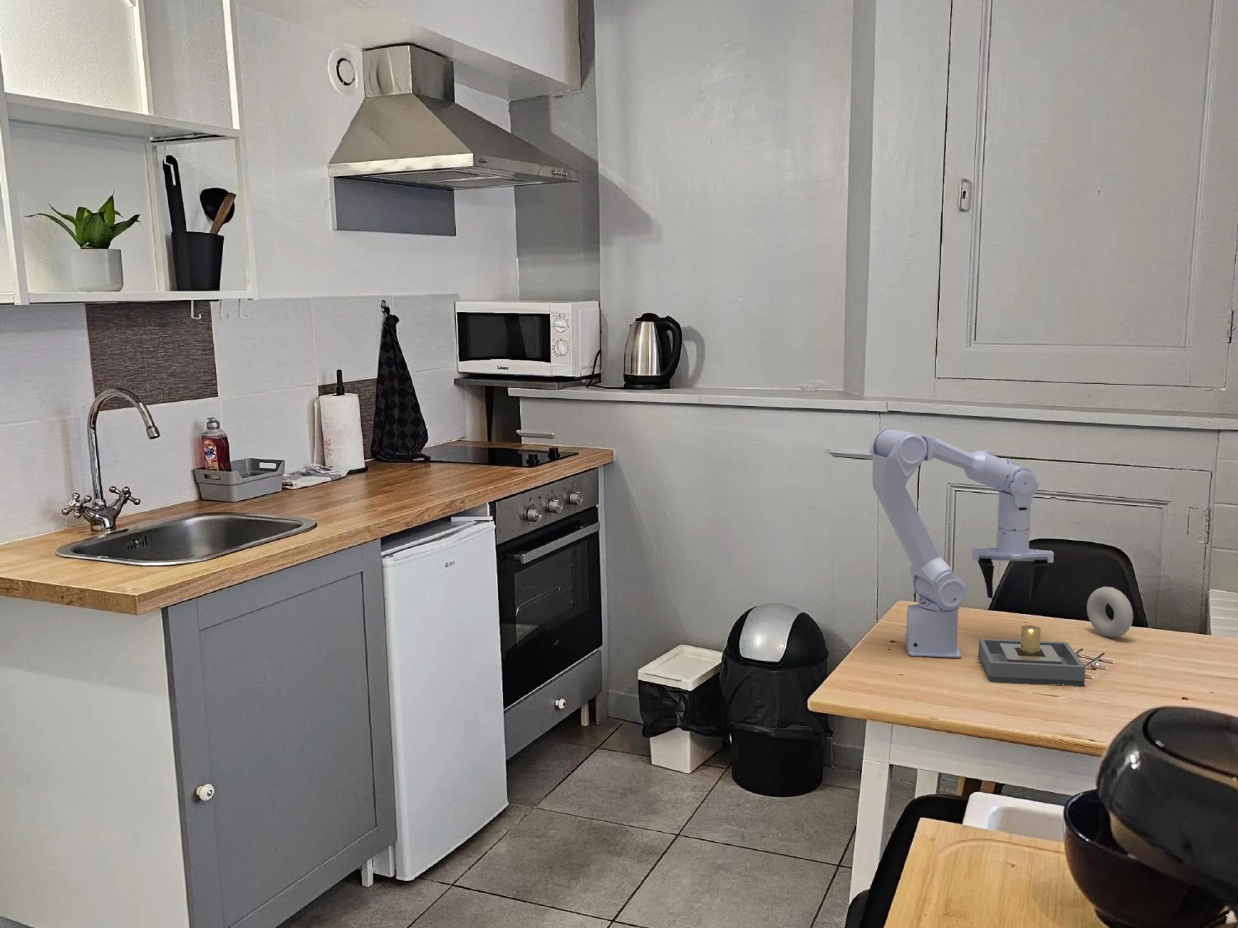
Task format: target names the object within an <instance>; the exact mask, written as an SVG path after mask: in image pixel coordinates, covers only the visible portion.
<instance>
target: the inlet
mask: <svg viewBox="0 0 1238 928" xmlns="http://www.w3.org/2000/svg"><path fill="white" fill-rule="evenodd" d="M1020 648H1021V644H1005V643H999V658H1000V660H1001V662H1019V663H1041V664H1062V661H1061V659H1060V658H1059V656H1058V655H1057V653H1056V652H1055V650H1054V649H1053V647H1052V646H1051V645H1040V652H1039V657H1035V656H1020Z"/></svg>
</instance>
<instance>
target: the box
mask: <svg viewBox="0 0 1238 928" xmlns="http://www.w3.org/2000/svg"><path fill="white" fill-rule="evenodd" d="M999 643H1005V644H1021V639H1019V640H1018V639H998V638H997V639H996V638H995V639H994V638H978V650H977V651H978V652H977V653H978V654H977V657H978V660H979V659H980V660H979V662H980V664H981V663H982V664H981V666H982V669H983V670H984V673H985V675H986V678H987V679H988V681H989V683H1001V684H1002V683H1003V684H1004V683H1005V684H1022V683H1025V684H1026V683H1029V684H1028V685H1042V684H1056V685H1055V686H1063V684H1064V685H1073V686H1072V687H1083V686H1084V687H1085V685H1086V684H1085V681H1086V680H1085V679H1086V666H1085V664H1084V662H1082V660H1081V658H1080V657H1079V656H1078V655H1077V654H1076V652H1075V651H1074V649H1073V648H1072V647H1071V646H1070V644H1069V642H1066V641H1045V640H1044V641H1043V640H1040V645H1051V646H1052V647H1053V649H1054V650H1055V652H1056V653H1057V655H1058V656H1059V658H1060V659H1061V661H1062V664H1041V663H1019V662H1001V660H1000V658H999ZM1057 684H1059V685H1057ZM1060 684H1061V685H1060ZM1026 685H1027V684H1026Z"/></svg>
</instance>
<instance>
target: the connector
mask: <svg viewBox="0 0 1238 928" xmlns="http://www.w3.org/2000/svg"><path fill="white" fill-rule="evenodd" d="M1020 640H1021V648H1020V656H1035V657H1039V652H1040V641H1041V627H1039V626H1037V625H1031V624H1030V625H1028V624H1025V625H1022V626H1021V629H1020Z"/></svg>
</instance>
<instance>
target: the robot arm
mask: <svg viewBox="0 0 1238 928" xmlns="http://www.w3.org/2000/svg"><path fill="white" fill-rule="evenodd" d="M869 453H870V455H871V458H872V488H873V490H874V491H875V492H874V493H875V495H876V496H877V498H878V501H880V504H881V505H882V508H883V509H884V512H885V514H886V515H887V517H888V520H889V521H890V523H891V525H892V528H893V529H894V531H895V533H896V535H897V537H898V540H899V541H900V543H901V545H902V548H903V549H904V552H905V553H906V555H907V557H908V559H909V561H910V563H911V566H910V568H909V572H910V574H911V576H912V587H913V590H914V593H916V595H918V603H916V604H908V605H907V607H906V628H905V629H906V631H905V633H904V634H905V636H904V638H905V640H904V641H905V645H906V649H907V654H908V655H909V656H913V657H914V656H915V657H917V656H918V657H933V658H934V657H938V658H954V659H955V658H956V659H957V658H958V659H960V658H962V653H961V651H960V648H959V647H958V629H959V627H958V625H959V610H960V606H961V605H962V604H963V603H964V602H965V600H966V596H967V587H966V584H965V583H964V581H963V580H962V579H961V578H960V577H958V576H957V575H955V573H954V571H953V569H952V568H951V567H950V566H949V565H948V564H947V562H946V561H945V560H944V559H943V558H942V557H941V556H940V554H939V551H938V550H937V548H936V546H935V543H934V542H933V540H932V537H931V535H930V534H929V532H928V530H927V527H926V526H925V524H924V521H923V519H922V518H921V516H920V513H919V512H918V510H917V508H916V506H915V504H914V502H913V500H912V498H911V496H910V494H909V491H908V490H907V486H906V485H907V483H908V480H910V478H911V477H912V475H913V474H914V473H915V472H916V470H917V469H918V468H919V467H920V465H921V464H922V463H923V461H925V462H929V461H931V460H933V459H935V460H938V461H942V462H944V463H947V464H949V465H952V466H954V467H958V468H961V469H963V471H964V473H965V476H966V478H967V479H969V480H970V481H971V480H972V481H974V482H977V483H979V484H982V485H983V486H986V487H989V488H991V489H994V490H995V491H996V492H997V493H998V511H997V515H998V516H997V533H996V534H997V535H996V537H997V539H996V547H986V548H982V547H981V548H972V549H971V551H972V553H971V559H972V561H977V564H978V565H979V567H980V571H981V573H982V575H983V578H984V579H983V580H984V583H985V587H986V588H985V589H986V597H987V598H988V599H993V597H994V590H993V586H994V585H993V581H994V570H995V565H994V563H993V562H994V561H1009V562H1029V584H1028V585H1029V587H1028V597H1029V599H1030V600H1035V599H1036V595H1037V591H1038V588H1039V585H1040V584H1041V582H1042V579H1043V577H1044V576H1045V574H1046V573H1047V571H1048V569H1049V563H1054V557H1055V556H1054V555H1055V553H1054V552H1053V550H1044V549H1043V550H1042V549H1034V548H1030V531H1031V530H1030V529H1031V510H1032V509H1031V506H1032V504H1033V496H1034V495H1035V494H1036V492H1037V491H1038V488H1039V485H1040V482H1039V481H1037V477H1036V474H1035V473H1034V472H1033V470H1031V469H1030V468H1028V467H1025V466H1024V467H1023V466H1020V465H1019V466H1018V465H1015V461H1014V460H1012V459H1004V458H1000V457H998V456H995V455H994V454H995V452H994V451H992V450H989V449H984V450H976V451H973V452H972V453H970V452H968V451H966V450H964V449H961V448H959V447H957V446H954V445H952V444H951V443H947V442H945V441H944V440H942V439H939V438H937V437H934V436H930V435H925V434H922V433H921V434H920V433H917V432H911V431H905V430H900V429H897V428H896V427H890V426H889V427H885V428H882V429H881V430H879V431H878V432H877V434H876V435H875V437H874V439H873V441H872V444H871V446H870V449H869Z"/></svg>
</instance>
